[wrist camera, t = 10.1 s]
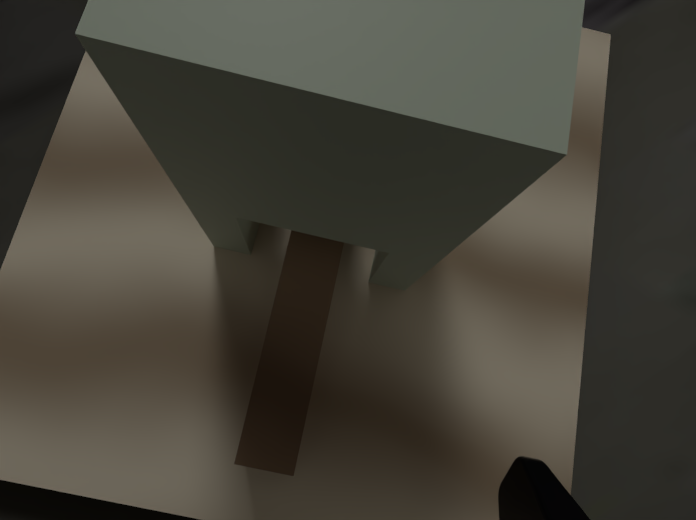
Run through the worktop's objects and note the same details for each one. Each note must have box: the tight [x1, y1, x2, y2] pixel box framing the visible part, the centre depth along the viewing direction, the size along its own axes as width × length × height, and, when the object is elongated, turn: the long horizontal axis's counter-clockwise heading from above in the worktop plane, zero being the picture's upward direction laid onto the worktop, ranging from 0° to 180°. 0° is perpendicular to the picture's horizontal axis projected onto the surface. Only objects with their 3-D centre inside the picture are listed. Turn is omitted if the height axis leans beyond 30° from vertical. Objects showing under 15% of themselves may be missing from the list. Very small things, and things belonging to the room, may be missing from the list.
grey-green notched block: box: [75, 0, 585, 291], centre depth 12 cm, size 4×6×10 cm, turn 78°
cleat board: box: [0, 28, 611, 520], centre depth 17 cm, size 20×19×4 cm
